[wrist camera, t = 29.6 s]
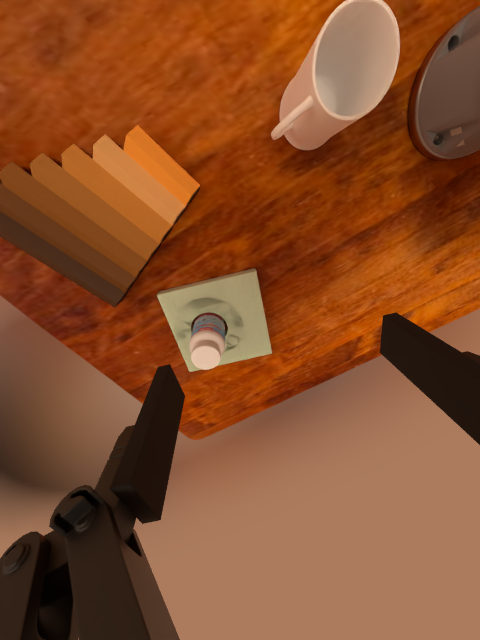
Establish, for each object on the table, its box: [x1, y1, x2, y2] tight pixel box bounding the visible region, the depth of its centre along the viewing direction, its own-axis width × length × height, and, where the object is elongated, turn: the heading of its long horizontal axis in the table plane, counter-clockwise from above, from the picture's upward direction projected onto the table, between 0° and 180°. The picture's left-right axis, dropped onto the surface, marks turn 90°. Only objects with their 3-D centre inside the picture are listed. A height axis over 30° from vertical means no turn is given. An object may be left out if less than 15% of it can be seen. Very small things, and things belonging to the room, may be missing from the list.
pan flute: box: [0, 125, 200, 307], centre depth 32 cm, size 25×3×25 cm
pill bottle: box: [189, 312, 225, 370], centre depth 40 cm, size 6×6×11 cm
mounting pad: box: [157, 268, 272, 372], centre depth 44 cm, size 18×18×2 cm
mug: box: [271, 0, 400, 150], centre depth 26 cm, size 12×8×12 cm
